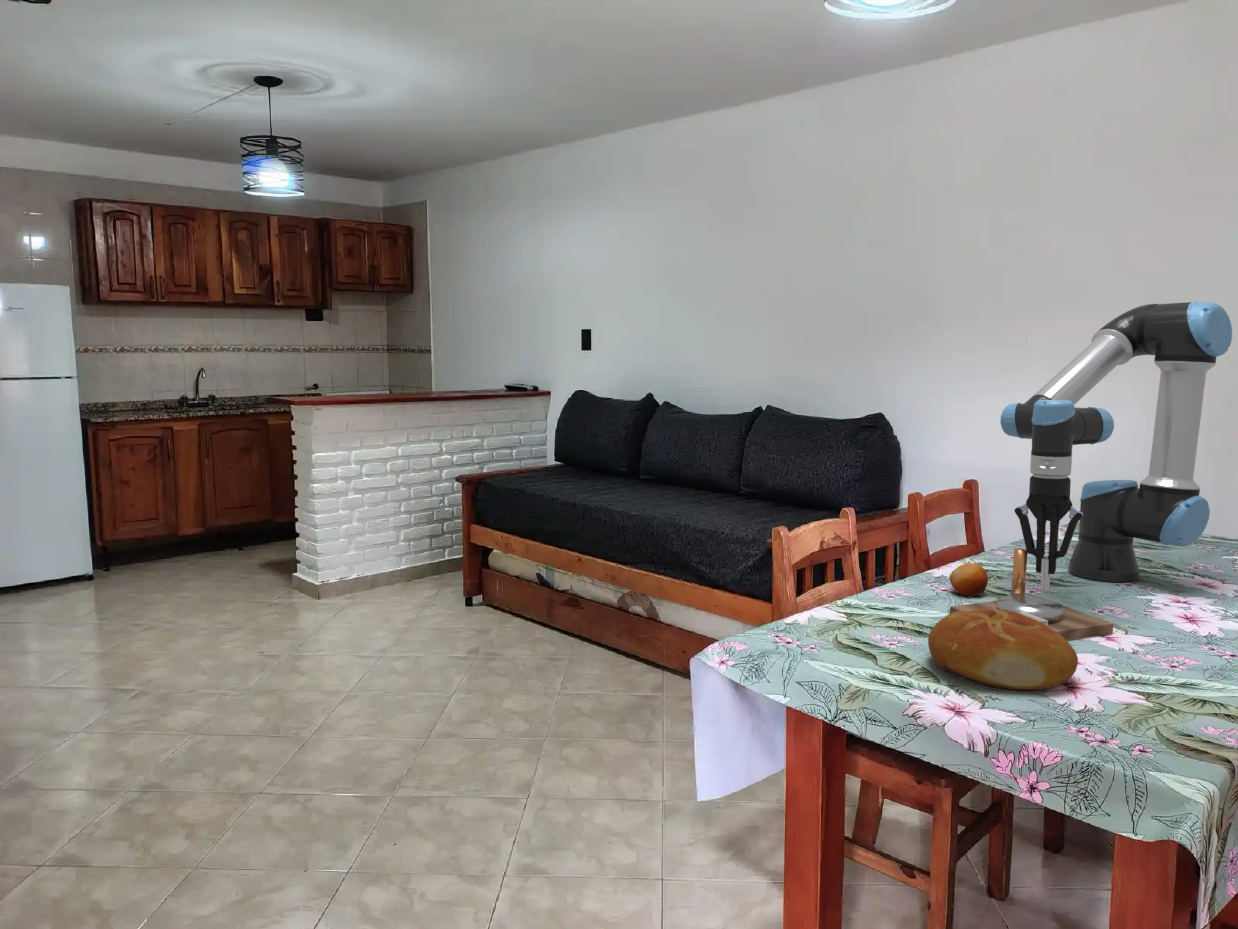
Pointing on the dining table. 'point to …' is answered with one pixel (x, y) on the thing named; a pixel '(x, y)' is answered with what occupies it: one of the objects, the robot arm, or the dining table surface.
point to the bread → (1002, 649)
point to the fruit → (969, 579)
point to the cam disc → (1024, 602)
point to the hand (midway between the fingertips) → (1044, 588)
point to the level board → (1067, 627)
